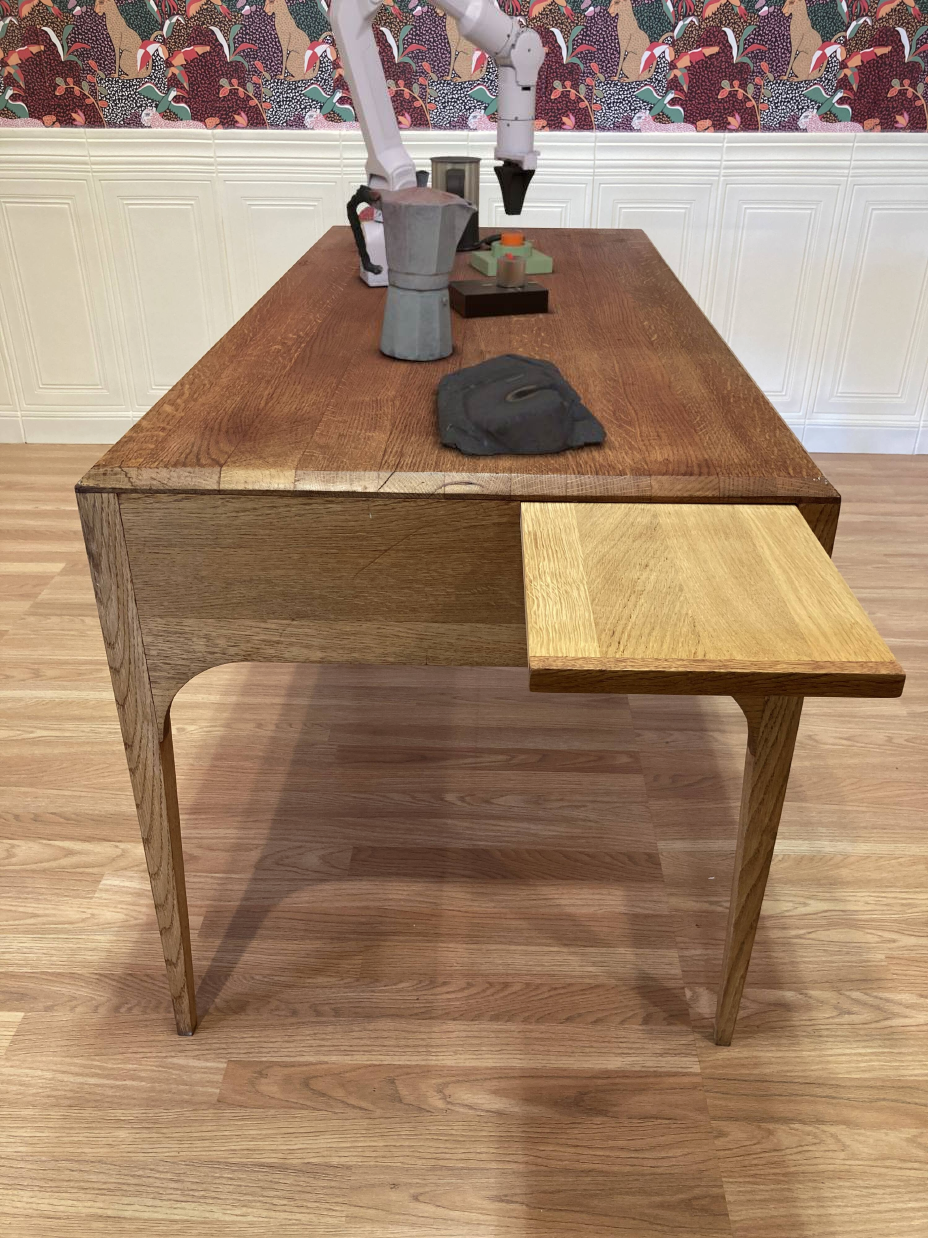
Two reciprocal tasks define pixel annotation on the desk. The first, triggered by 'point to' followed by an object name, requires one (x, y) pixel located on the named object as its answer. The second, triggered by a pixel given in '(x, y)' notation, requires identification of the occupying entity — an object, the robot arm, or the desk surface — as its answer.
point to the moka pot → (415, 264)
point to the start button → (512, 239)
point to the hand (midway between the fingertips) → (512, 214)
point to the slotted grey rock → (513, 409)
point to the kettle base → (534, 259)
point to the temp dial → (510, 271)
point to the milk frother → (462, 192)
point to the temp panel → (496, 298)
